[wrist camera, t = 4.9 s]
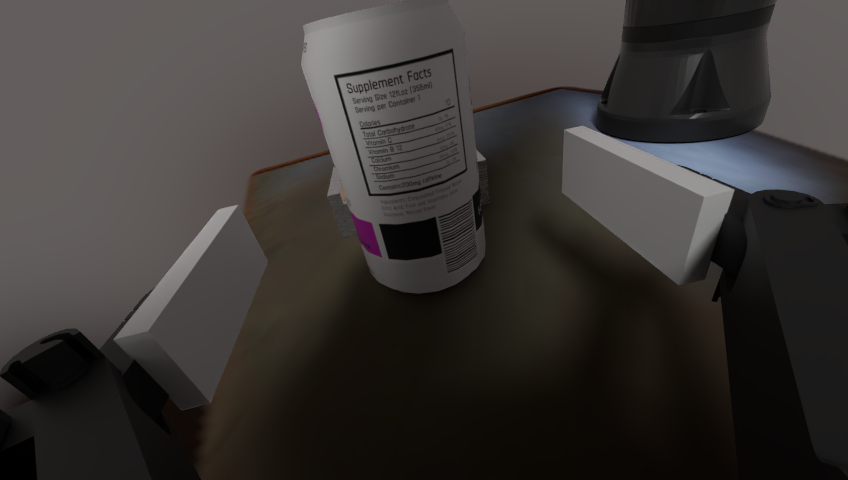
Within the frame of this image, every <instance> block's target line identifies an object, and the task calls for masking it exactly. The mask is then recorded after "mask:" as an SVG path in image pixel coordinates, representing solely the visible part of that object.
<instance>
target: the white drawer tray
mask: <svg viewBox="0 0 848 480" xmlns="http://www.w3.org/2000/svg"><path fill="white" fill-rule="evenodd" d="M476 152H477V162H478V172H479V182H480V192H481V202H482V206H483V205H487V204H490V197H489V185H488V174H487V162H486V159H485V158H484V157H483V156H482V155H481V154H480V153H479V152H478V151H477V150H476ZM328 199H329V202H330V205H331V207H332V210H333V213H334V216H335V218H336V221H337V224H338V227H339V229H340V232H341V235H342V238H346V237H350V236H354V235H358V234H357V231H356V228H355V225H354V222H353V219H352V216H351V213H350V210H349V207H348V204H347V201H346V198H345V195H344V192H343V189H342V186H341V183H340V180H339V177H338V174H337V171H336V168H335V165H334V168H333V173H332V177H331V182H330V187H329V191H328Z"/></svg>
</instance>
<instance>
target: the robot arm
mask: <svg viewBox="0 0 848 480" xmlns="http://www.w3.org/2000/svg"><path fill="white" fill-rule="evenodd" d="M776 1H777V0H626V6H625V15H624V23H623V33H622V42H621V48H620V52H619V55H618V57H617V60H616V63H615V65H614V67H613V69H612V72H611V74H610V77H609V79H608V81H607V84H606V86H605V89H604V91H603V94H602V97H601V99H600V101H599V103H598V107H597V117H596V126H597V127H598V128H599V129H600V130H601V131H603V132H605V133H607V134H610V135H613V136H616V137H620V138H625V139H631V140H639V141H651V142H691V141H703V140H712V139H719V138H725V137H730V136H734V135H738V134H742V133H745V132H748V131H750V130H752V129H755V128H756V127H758V126H759V125H761V124H762V122H763V120H764V117H765V114H766V111H767V108H768V106H769V102H770V98H771V92H770V78H769V66H768V51H767V30H768V26H769V23H770V19H771V16H772V13H773V10H774V6H775V3H776ZM562 193H564V194H565V195H566V196H567V197H569V198H570V199H571V200H572V201H574V202H575V203H576V204H577V205H579V206H580V207H581V208H582V209H584V210H585V211H586V212H587V213H589V214H590V215H591V216H592V217H594V218H595V219H596V220H597V221H599V222H600V223H601V224H602V225H604V226H605V227H606V228H607V229H609V230H610V231H611V232H613V233H614V234H615V235H616V236H618V237H619V238H620V239H621V240H623V241H624V242H625V243H626V244H628V245H629V246H630V247H631V248H633V249H634V250H635V251H636V252H638V253H639V254H640V255H641V256H643V257H644V258H645V259H646V260H648V261H649V262H650V263H651V264H653V265H654V266H655V267H656V268H658V269H659V270H660V271H661V272H663V273H664V274H665V275H667V276H668V277H669V278H670V279H672V280H673V281H674V282H675V283H677V284H678V285H683V284H687V283H691V282H695V281H699V280H703V279H705V277H706V274H707V271H708V268H709V265H710V262H711V261H712V262H714V263H715V264H717V265H719V266H720V267H722V268H723V270H722V273H721V276H720V279H719V282H718V284H717V287H716V290H715V293H714V295H713V298H712V301H714V302H717V300H718V298H719V297H720V296H721V304H722V313H723V323H724V333H725V343H726V353H727V363H728V372H729V382H730V392H731V402H732V412H733V421H734V431H735V441H736V451H737V461H738V471H739V480H848V203H842V204H823V203H822V202H821V201H820V200H819V199H817V198H815V197H812V196H810V195H807V194H803V193H799V192H795V191H787V190H763V191H757V192H755V193H753V194H750V193H748V192H745V191H743V190H740V189H738V188H736V187H733V186H731V185H728V184H726V183H724V182H721V181H719V180H716V179H712V178H711V177H709V176H707V175H704V174H700V173H699V172H697V171H695V170H692V169H690V168H687V167H684V166H679V165H675V164H673V163H670V162H668V161H665V160H663V159H661V158H658V157H656V156H653V155H651V154H649V153H646V152H644V151H642V150H639V149H637V148H634V147H632V146H630V145H627V144H625V143H623V142H620V141H618V140H615V139H613V138H611V137H608V136H606V135H604V134H601V133H599V132H596V131H594V130H592V129H589V128H587V127H585V126H579V127H574V128H570V129H566V130H564V149H563V175H562ZM267 263H268V261H267V259H266V257H265V255H264V253H263V251H262V249H261V247H260V245H259V243H258V241H257V240H256V238H255V236H254V234H253V232H252V230H251V228H250V226H249V224H248V222H247V221H246V219H245V217H244V215H243V213H242V211H241V209H240V207H239V205H236V206H231V207H227V208H223V209H219V210H218V211H217V212H216V213H215V214H214V216H213V217H212V218H211V219H210V221H209V222H208V223H207V224H206V225H205V227H204V228H203V229H202V230H201V232H200V233H199V234H198V235H197V237H196V238H195V239H194V240H193V242H192V243H191V244H190V245H189V247H188V248H187V249H186V250H185V251H184V253H183V254H182V255H181V256H180V258H179V259H178V260H177V261H176V263H175V264H174V265H173V266H172V268H171V269H170V270H169V271H168V272H167V274H166V275H165V276H164V277H163V279H162V280H161V281H160V282H159V284H158V285H157V286H156V287H155V288H154V289H152V290H151V291H150V292H149V293H148V294H146V295H145V296H144V297H143V298H142V299H141V300H140V301H139V303H138V304H137V305H136V306H135V308H134V309H133V310H134V311H132V312H130V314H129V315H128V316H127V317H126V319H125V322H122V324H121V325H120V326H119V327H118V328H117V330H116V331H115V332H114V333H113V334H112V335H111V337H110V338H109V339H108V340H107V341H106V343H105V344H104V345H103V346H102V348H101V349H100V350H98V349H97V348H96V347H95V346H94V345H93V344H92V343H91V342H90V341H89V340H88V339H87V338H86V337H85V336H84V335H83V334H82V333H81V332H80V331H78V330H77V329H65V330H62V331H59V332H55V333H53V334H50V335H48V336H46V337H44V338H42V339H40V340H38V341H37V342H35V343H33V344H31V345H29V346H28V347H26V348H25V349H23V350H22V351H21V352H19V353H18V354H17V355H15V356H14V357H13V358H12V359H11V360H10V361H9V362H8V363H7V364H6V365H5V366H4V367H3V368H2V371H1V372H0V377H2V378H3V379H4V380H6V381H7V382H9V383H10V384H11V385H13V386H14V387H15V388H17V389H18V390H19V391H21V392H22V393H23V394H25V395H26V396H27V397H29V398H30V399H31V401H29V402H26V403H24V404H22V405H19V406H17V407H15V408H13V409H10V410H8V411H6V412H3V411H2V410H0V480H201V479H200V477H199V475H198V473H197V471H196V469H195V468H194V466H193V464H192V462H191V460H190V458H189V456H188V454H187V452H186V450H185V448H184V446H183V444H182V442H181V440H180V438H179V436H178V434H177V432H176V430H175V428H174V427H173V424H172V422H171V420H170V419H169V418H168V417H167V416H166V415H165V414H164V413H163V412H162V409H163V407H164V405H165V403H166V401H167V399H168V397H169V398H170V399H171V400H172V401H173V402H175V404H176V405H177V406H178V407H179V408H180V409H181V410H184V409H189V408H193V407H196V406H200V405H204V404H208V403H211V401H212V398H213V396H214V394H215V391H216V389H217V386H218V384H219V381H220V379H221V376H222V374H223V371H224V369H225V367H226V364H227V362H228V359H229V357H230V354H231V352H232V349H233V347H234V344H235V342H236V339H237V337H238V335H239V332H240V330H241V327H242V325H243V322H244V320H245V317H246V315H247V312H248V310H249V308H250V305H251V303H252V300H253V298H254V295H255V293H256V290H257V288H258V285H259V283H260V281H261V278H262V276H263V273H264V271H265V268H266V266H267Z"/></svg>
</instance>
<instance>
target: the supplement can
mask: <svg viewBox="0 0 848 480" xmlns="http://www.w3.org/2000/svg"><path fill="white" fill-rule="evenodd" d="M303 29H304V32H305V38H304V47H303V54H302V63H301V66H302V69H303V72H304V75H305V78H306V81H307V84H308V87H309V90H310V93H311V96H312V99H313V102H314V105H315V108H316V111H317V114H318V117H319V120H320V123H321V126H322V129H323V132H324V135H325V138H326V141H327V144H328V147H329V150H330V153H331V156H332V159H333V162H334V165H335V168H336V171H337V174H338V177H339V180H340V183H341V186H342V189H343V192H344V195H345V198H346V201H347V204H348V207H349V210H350V213H351V216H352V219H353V222H354V225H355V228H356V231H357V234H358V237H359V240H360V243H361V246H362V249H363V252H364V255H365V258H366V261H367V264H368V267H369V270H370V272H371V274H372V275H373V276H374V277H375V279H376V280H377V281H378V282H379V283H381V284H383V285H385V286H387V287H390V288H392V289H394V290H399V291H401V292H407V293H416V294H422V293H429V292H437V291H440V290H443V289H446V288H448V287H451V286H453V285H456V284H457V283H459V282H460V281H462V280H463V279H464V278H466V277H467V276H468V275H470V273H471V272H473V271H474V270H475V269H477V267H478V266H479V264H480V262H481V261H482V259H483V258H484V256H485V246H486V242H485V232H484V222H483V212H482V202H481V192H480V182H479V172H478V162H477V152H476V142H475V132H474V122H473V112H472V102H471V92H470V82H469V72H468V62H467V52H466V43H465V32H464V29H463V27H462V25H461V24H460V22H459V20H458V19H457V17H456V15H455V14H454V12H453V10H452V9H451V7H450V5H449V4H448V0H407V1H403V2H397V3H393V4H388V5H383V6H378V7H374V8H369V9H365V10H360V11H355V12H351V13H347V14H342V15H338V16H334V17H330V18H326V19H322V20H319V21H315V22H312V23H308V24H306V25H303Z"/></svg>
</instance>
